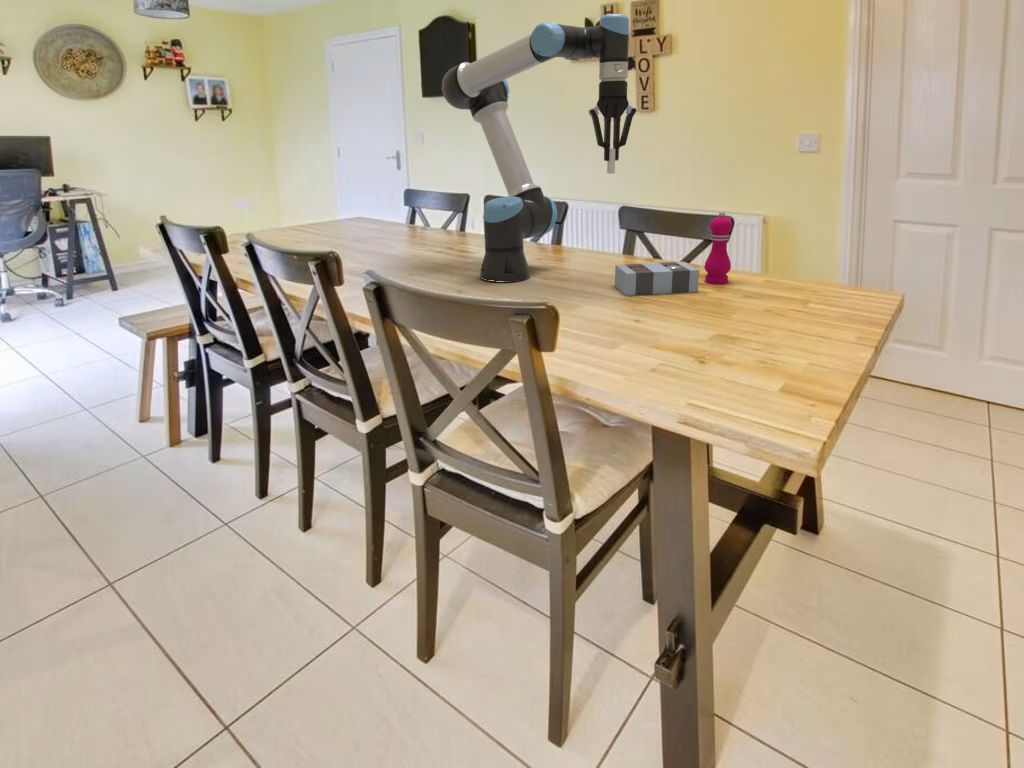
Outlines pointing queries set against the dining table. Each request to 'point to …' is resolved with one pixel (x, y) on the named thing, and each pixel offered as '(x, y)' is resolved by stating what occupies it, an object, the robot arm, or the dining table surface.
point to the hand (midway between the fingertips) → (610, 173)
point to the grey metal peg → (673, 266)
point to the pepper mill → (718, 251)
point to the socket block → (656, 278)
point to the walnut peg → (638, 268)
